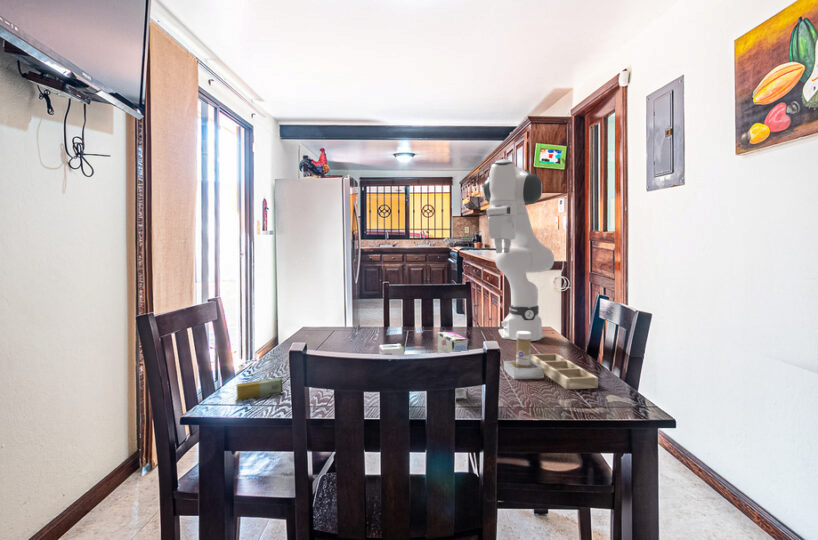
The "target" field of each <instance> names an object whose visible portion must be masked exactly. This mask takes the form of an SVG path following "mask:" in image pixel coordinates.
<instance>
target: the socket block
mask: <svg viewBox="0 0 818 540" xmlns="http://www.w3.org/2000/svg"><path fill="white" fill-rule="evenodd" d="M504 370H505V371H506V372H505V371H504ZM503 371H504V372H505V373H506V374H507V375H509V376H510V377H511V378H512V379H513V380H528V379H545V374H544V368H543V367H541V366H540V365H538V364H537V363H536V362H534V361H533V360H530V368H516V360H503Z"/></svg>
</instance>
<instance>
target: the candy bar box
mask: <svg viewBox="0 0 818 540" xmlns="http://www.w3.org/2000/svg"><path fill="white" fill-rule="evenodd" d="M469 341H470V339H469V338H467V337H466V336H465V337H464V336H463V335H460V334H459V333H456V332H454V331H441V332H440V331H438V332H437V349H436V350H437V354H439V353H450V352H461V351H468V352H469V346H470V345H469V344H470V343H469ZM468 394H469V387H468V388H464V389H456V400H455V401H460V400H468V398H469V395H468Z"/></svg>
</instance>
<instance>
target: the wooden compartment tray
mask: <svg viewBox="0 0 818 540" xmlns="http://www.w3.org/2000/svg"><path fill="white" fill-rule="evenodd" d="M530 360H533V361H534V362H536V363H537V364H538V365H540V366H541V367H543V368H544V375H545V376H547V377H549V378H550V379H551V380H553V381H554V382H555V383H557V384H558V385H559V386H561V387H563V388H564V389H566V390H583V389H598V388H599V377H598V376H596V375H594V374H593V373H591V372H589V371H588V370H587V369H586V370H585V369H584V368H582V367H580V366H579V365H577V364H575V363H574V362H572V361H571V360H568V359H567V358H565V357H563V356H561V355H560V354H558V353H535V354H531V359H530Z"/></svg>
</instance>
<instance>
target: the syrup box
mask: <svg viewBox="0 0 818 540" xmlns="http://www.w3.org/2000/svg"><path fill="white" fill-rule="evenodd" d="M404 351H405V350H404V347H403V346H402V344H401V343H396V344H395V343H393V344H391V343H390V344H380V345H379V348H378V352H379V355H405V354H404Z"/></svg>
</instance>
